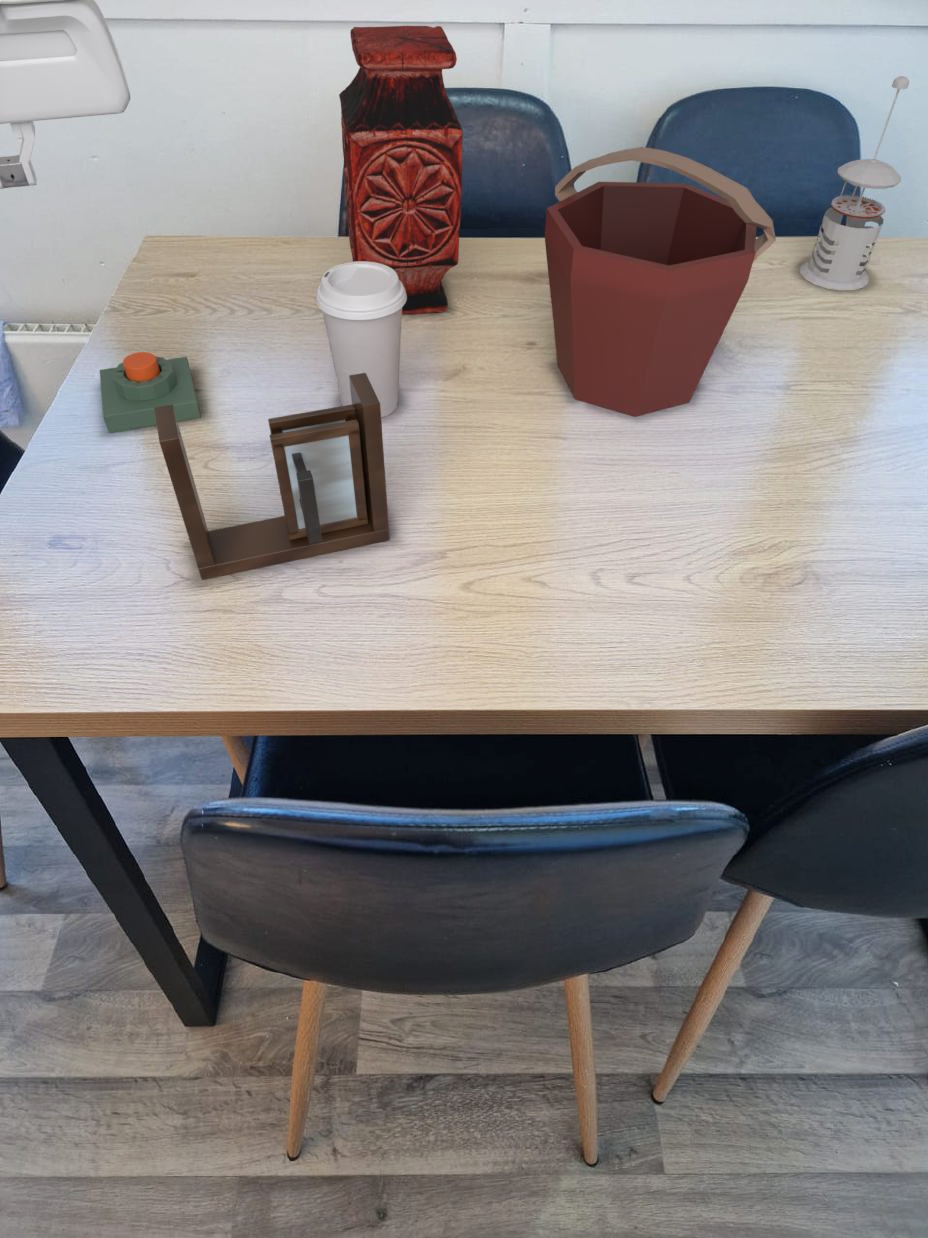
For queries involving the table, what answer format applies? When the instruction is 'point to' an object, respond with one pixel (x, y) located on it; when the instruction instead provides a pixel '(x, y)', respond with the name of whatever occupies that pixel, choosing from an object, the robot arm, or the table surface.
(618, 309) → the bucket
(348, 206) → the vase
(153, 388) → the button block
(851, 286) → the french press
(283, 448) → the sliding window sash
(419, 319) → the table surface
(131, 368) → the button
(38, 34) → the robot arm
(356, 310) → the coffee cup
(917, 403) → the table surface
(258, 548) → the window frame
